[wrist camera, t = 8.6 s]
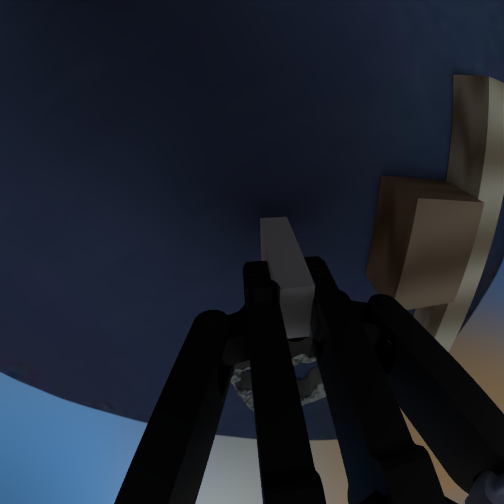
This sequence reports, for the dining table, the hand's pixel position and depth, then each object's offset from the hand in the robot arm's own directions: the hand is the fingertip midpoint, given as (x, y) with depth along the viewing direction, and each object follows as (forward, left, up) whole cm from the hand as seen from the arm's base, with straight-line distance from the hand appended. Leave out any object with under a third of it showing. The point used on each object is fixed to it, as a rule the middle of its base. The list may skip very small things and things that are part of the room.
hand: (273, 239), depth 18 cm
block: (+1, +11, -3) cm, 11 cm away
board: (+1, +16, -3) cm, 16 cm away
